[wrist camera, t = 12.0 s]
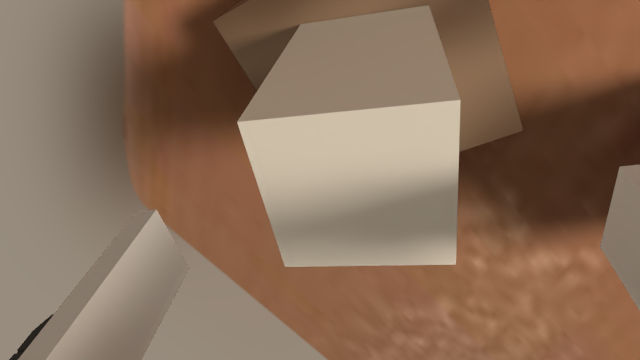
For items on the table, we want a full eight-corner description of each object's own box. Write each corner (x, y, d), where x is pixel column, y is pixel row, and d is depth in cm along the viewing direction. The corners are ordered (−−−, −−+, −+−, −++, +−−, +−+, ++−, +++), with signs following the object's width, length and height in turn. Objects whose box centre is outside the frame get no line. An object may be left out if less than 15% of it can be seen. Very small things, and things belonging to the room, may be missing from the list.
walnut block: (500, 91, 25) (523, 130, 21) (331, 154, 29) (323, 196, 25) (440, -120, 19) (455, -122, 15) (241, -2, 24) (212, 21, 20)
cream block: (430, 123, 21) (455, 264, 13) (322, 132, 22) (284, 266, 15) (428, 5, 18) (460, 100, 10) (300, 24, 19) (237, 122, 11)
